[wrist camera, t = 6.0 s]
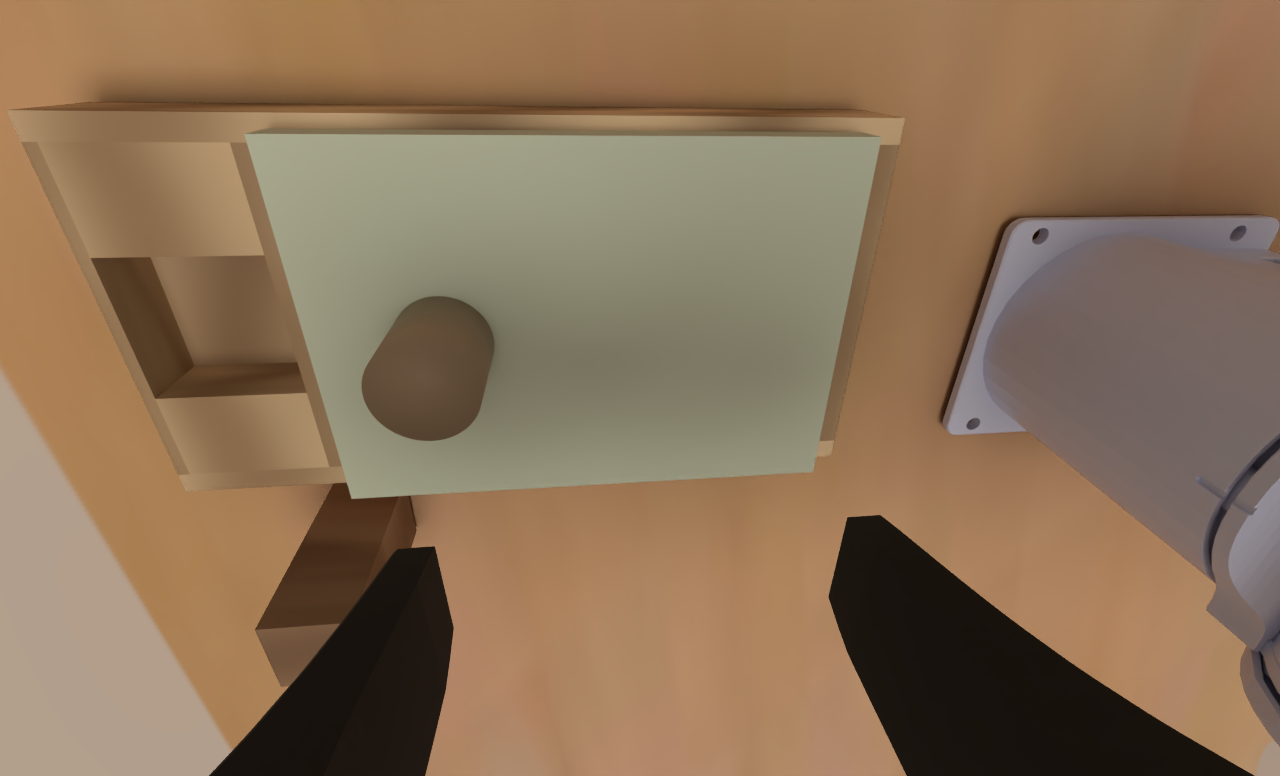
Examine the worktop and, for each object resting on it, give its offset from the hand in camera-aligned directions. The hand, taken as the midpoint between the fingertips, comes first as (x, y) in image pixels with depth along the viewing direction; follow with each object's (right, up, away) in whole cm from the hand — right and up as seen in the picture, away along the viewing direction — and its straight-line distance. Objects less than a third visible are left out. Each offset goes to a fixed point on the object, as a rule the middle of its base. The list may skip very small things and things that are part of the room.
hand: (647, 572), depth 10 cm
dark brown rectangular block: (-10, -1, +11) cm, 14 cm away
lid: (-2, +5, +5) cm, 7 cm away
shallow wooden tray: (-4, +6, +7) cm, 10 cm away
